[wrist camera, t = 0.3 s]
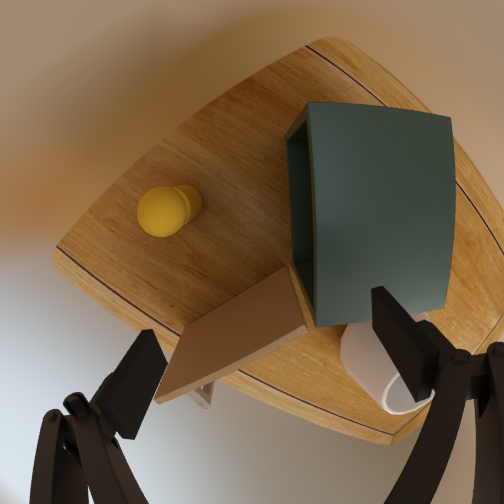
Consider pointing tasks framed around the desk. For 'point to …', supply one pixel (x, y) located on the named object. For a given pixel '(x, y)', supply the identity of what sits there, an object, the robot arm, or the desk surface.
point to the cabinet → (370, 208)
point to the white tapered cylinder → (377, 367)
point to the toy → (168, 209)
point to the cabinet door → (233, 338)
